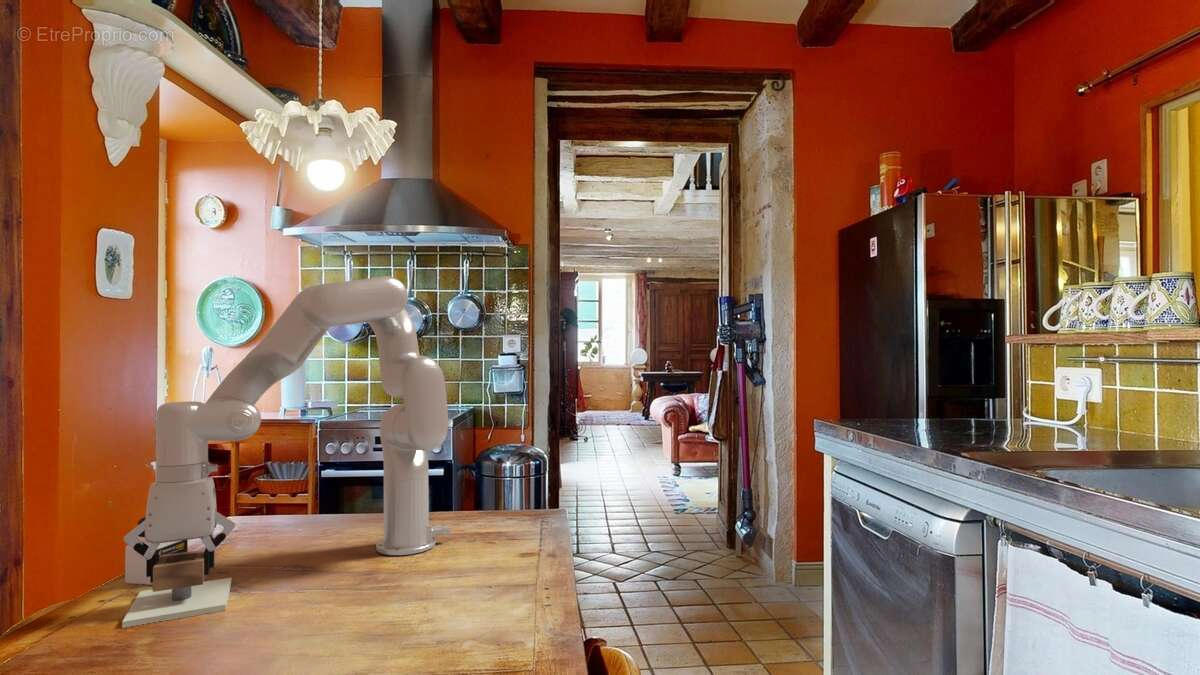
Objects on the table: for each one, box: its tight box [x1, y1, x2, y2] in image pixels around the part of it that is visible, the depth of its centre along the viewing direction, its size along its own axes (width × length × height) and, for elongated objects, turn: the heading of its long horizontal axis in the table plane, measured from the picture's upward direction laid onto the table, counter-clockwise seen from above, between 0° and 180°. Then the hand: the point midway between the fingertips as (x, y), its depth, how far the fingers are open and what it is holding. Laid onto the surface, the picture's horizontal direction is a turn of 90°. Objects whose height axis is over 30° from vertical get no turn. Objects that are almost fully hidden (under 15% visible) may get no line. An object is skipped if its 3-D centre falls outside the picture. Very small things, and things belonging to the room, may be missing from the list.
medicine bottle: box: [124, 516, 189, 586], centre depth 119 cm, size 7×7×12 cm
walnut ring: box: [152, 549, 207, 592], centre depth 107 cm, size 7×7×4 cm
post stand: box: [121, 560, 233, 629], centre depth 107 cm, size 14×14×7 cm
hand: (181, 575), depth 107 cm, fingers closed on walnut ring, 7 cm apart
